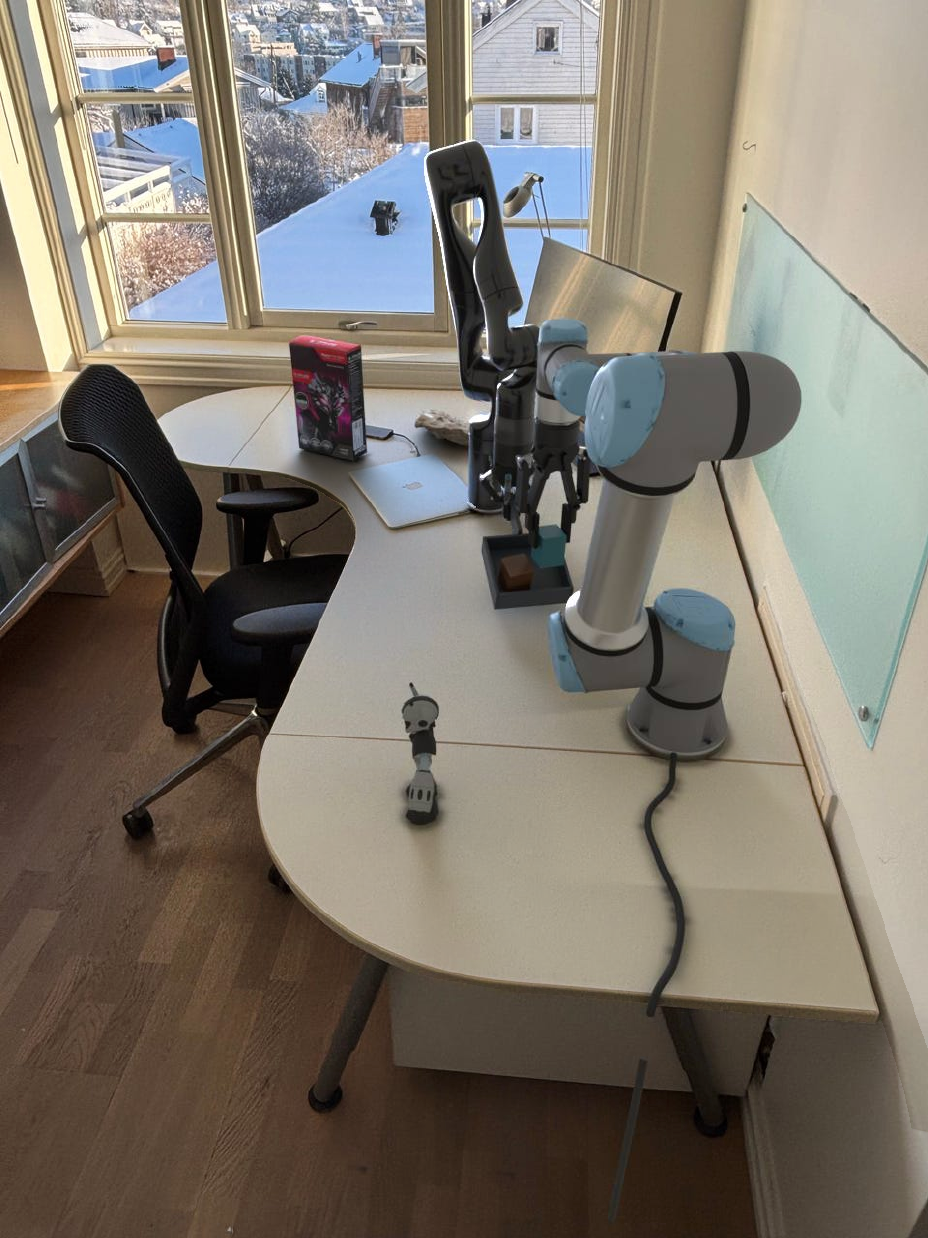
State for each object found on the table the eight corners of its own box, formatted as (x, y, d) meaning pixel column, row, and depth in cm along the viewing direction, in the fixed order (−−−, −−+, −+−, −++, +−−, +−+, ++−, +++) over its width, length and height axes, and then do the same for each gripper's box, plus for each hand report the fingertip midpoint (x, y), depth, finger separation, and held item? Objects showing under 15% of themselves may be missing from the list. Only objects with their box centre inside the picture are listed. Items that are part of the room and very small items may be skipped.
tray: (570, 602, 169) (574, 585, 165) (494, 609, 166) (497, 592, 163) (543, 507, 183) (546, 489, 179) (472, 512, 181) (474, 494, 177)
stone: (398, 433, 232) (403, 409, 229) (417, 425, 245) (422, 402, 243) (477, 457, 228) (483, 433, 226) (491, 447, 242) (497, 425, 239)
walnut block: (529, 592, 169) (533, 571, 164) (507, 598, 168) (510, 577, 163) (520, 574, 171) (524, 552, 166) (498, 579, 170) (501, 558, 165)
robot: (441, 856, 121) (440, 742, 110) (404, 858, 121) (400, 743, 110) (437, 755, 138) (436, 646, 127) (405, 756, 137) (401, 647, 126)
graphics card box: (296, 449, 231) (285, 340, 216) (313, 439, 236) (303, 333, 221) (353, 463, 224) (346, 352, 209) (369, 453, 229) (363, 343, 214)
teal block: (563, 565, 165) (567, 535, 161) (540, 568, 163) (543, 538, 160) (553, 553, 168) (556, 523, 165) (530, 556, 167) (533, 527, 163)
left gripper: (544, 425, 174) (539, 508, 184) (474, 430, 172) (473, 512, 182) (554, 441, 168) (548, 525, 178) (482, 446, 166) (480, 531, 176)
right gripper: (598, 403, 156) (586, 524, 169) (496, 416, 151) (492, 540, 164) (618, 419, 150) (605, 543, 163) (513, 433, 145) (508, 560, 158)
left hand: (510, 519), depth 180 cm, fingers closed on tray, 1 cm apart
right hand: (548, 541), depth 163 cm, fingers open, 5 cm apart
